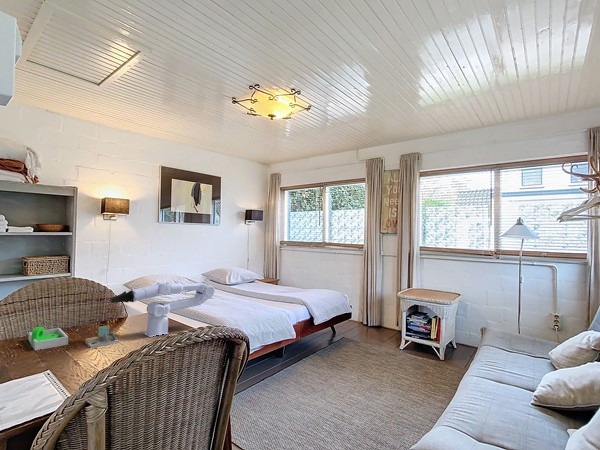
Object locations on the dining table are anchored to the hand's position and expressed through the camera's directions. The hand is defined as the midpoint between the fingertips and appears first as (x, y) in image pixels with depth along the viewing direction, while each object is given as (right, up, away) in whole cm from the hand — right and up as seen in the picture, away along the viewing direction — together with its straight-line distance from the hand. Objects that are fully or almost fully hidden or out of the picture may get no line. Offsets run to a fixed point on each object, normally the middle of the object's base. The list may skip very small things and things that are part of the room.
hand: (113, 300), depth 152 cm
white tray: (-27, -18, -5) cm, 33 cm away
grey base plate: (-4, -19, -1) cm, 20 cm away
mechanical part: (-27, -18, -5) cm, 33 cm away
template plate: (-2, -19, -4) cm, 20 cm away
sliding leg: (-4, -18, -1) cm, 18 cm away
